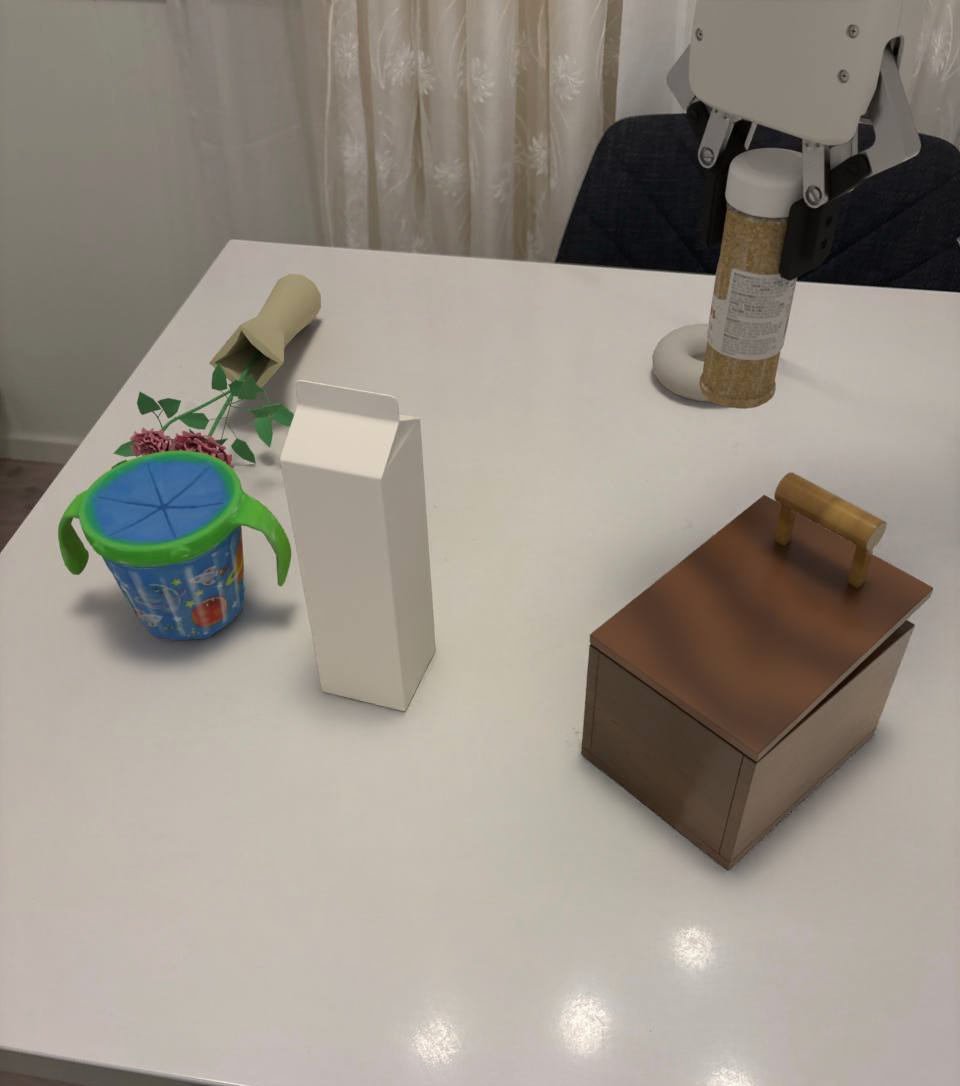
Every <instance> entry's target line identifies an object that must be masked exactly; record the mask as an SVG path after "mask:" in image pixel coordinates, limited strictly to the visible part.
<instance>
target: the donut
mask: <svg viewBox="0 0 960 1086" xmlns="http://www.w3.org/2000/svg"><path fill="white" fill-rule="evenodd" d="M708 325H709V323H696V324H690V325H684V326H681V327H679V328H676V329H673V330H672V331H670V332H668V333H667V334H666V335H664V336H663V337H661V339H660V340H659V341H658V342H657V344H656V346H655V348H654V350H653V352H652V355H651V359H652V370H653V373H654V375H655V377H656V378H657V380H658V381H659V383H660V384H661V385H662V386H664V388H666V389H667V390H669V391H670V392H672V393H673V394H676V395H678V396H680V397H683V398H685V399H688V400H694V401H699V402H710V403H711V402H712V401H710V400H709V399H708V398H707V397H706V396H705V395H703V393H702V392H701V389H700V385H699V381H700V376H701V374H702V373H703V366H704V360H705V353H706V347H707V341H708V340H707V331H708ZM712 403H713V402H712Z"/></svg>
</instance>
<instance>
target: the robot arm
mask: <svg viewBox="0 0 960 1086" xmlns="http://www.w3.org/2000/svg"><path fill="white" fill-rule="evenodd" d="M926 2H927V0H696V2H695V6H694V14H693V21H692V27H691V28H692V29H691V34H690V35H691V36H690V43H689V44H688V45H687V47H686V48H685V50H684V51H683V52H682V53H681V55H680V56H679V57H678V59H677V60H676V61H675V63H674V64H673V65H672V66H671V68H670V70H669V71H668V72H667V74H666V84H667V86H668V88H669V90H670V91H671V94H672V95H673V96H674V98H675V99H676V101H677V102H678V104H679V106H680V107H681V108H682V110H683V111H686V112H685V113H686V114H685V116H686V120H687V123H688V125H689V127H690V129H691V131H692V133H693V135H694V137H695V139H696V141H697V143H698V145H699V147H698V151H697V159H698V162H699V163H700V164H699V165H701V166H702V167H703V168H705V169H706V174H705V180H704V190H703V197H702V204H701V224H700V230H699V231H700V232H699V243H700V244H702V245H704V246H707V247H711V246H715V245H717V244H719V243H722V239H723V232H724V224H725V218H726V212H727V200H726V197H725V192H726V185H727V178H728V172H729V167H730V164H731V162H732V160H733V159H734V158H735V157H736V156H738V155H739V154H741V153H743V152H746V151H749V147H750V146H751V145H750V144H751V142H752V139H753V137H754V134H755V131H756V128H757V126H758V125H761V126H763V127H766V128H769V129H772V130H776V131H778V132H781V133H784V134H787V135H791V136H793V137H796V138H799V139H801V141H802V142H801V143H802V145H801V146H802V152H801V153H803V198H802V199H800V200H798V201H796V202H794V203H793V204H792V206H791V208H790V212H789V217H788V222H787V228H786V233H785V239H784V244H783V249H782V255H781V260H780V265H779V274H780V276H781V277H782V278H784V279H786V280H789V281H791V280H793V279H795V278H797V279H798V278H799V277H801V276H803V275H805V274H807V273H808V272H810V271H812V270H814V269H815V268H818V267H820V266H821V265H822V264H823V263H824V261H825V260H827V258H828V256H829V255H830V253H831V250H832V247H833V243H834V238H835V233H836V229H837V223H838V220H839V215H840V210H841V206H842V201H843V197H844V195H846V194H848V193H850V192H851V191H854V189H855V188H857V187H858V186H860V185H862V183H864V182H866V181H868V180H869V179H870V178H872V177H873V176H875V175H878V174H880V173H882V172H885V171H886V170H888V169H890V168H893V167H895V166H898V165H900V164H903V163H904V162H906V161H908V160H910V159H913V158H914V157H916V156H918V155H919V153H920V151H921V149H922V143H921V138H920V135H919V132H918V129H917V126H916V123H915V119H914V116H913V112H912V110H911V106H910V104H909V100H908V95H909V91H910V87H911V84H912V78H913V73H914V69H915V64H916V59H917V55H918V49H919V43H920V37H921V32H922V26H923V20H924V14H925V7H926ZM859 123H865V124H868V125H872V129H873V131H874V137H875V139H874V142H873V144H872V145H871V146H870V147H868V148H866V149H864V150H862V151H860V152H859V147H858V146H859Z"/></svg>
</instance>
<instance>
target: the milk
mask: <svg viewBox="0 0 960 1086" xmlns="http://www.w3.org/2000/svg"><path fill="white" fill-rule="evenodd" d="M294 389H295V395H296V401H297V405H296V408H295V411H294V413H293V414H294V417H293V420H292V423H291V426H290V427H289V429H288V432H287V435H286V438H285V441H284V445H283V448H282V451H281V453H280V457H279V463H280V468H281V474H282V479H283V485H284V491H285V497H286V501H287V507H288V512H289V518H290V523H291V529H292V535H293V540H294V545H295V551H296V557H297V561H298V566H299V572H300V578H301V583H302V588H303V594H304V599H305V605H306V609H307V616H308V621H309V626H310V627H309V628H310V633H311V638H312V643H313V649H314V654H315V659H316V664H317V670H318V675H319V681H320V686H321V691H322V692H323V693H326V694H330V695H335V696H338V697H339V696H340V697H343V698H347V699H351V700H354V701H355V700H356V701H360V702H362V703H363V702H364V703H368V704H371V705H376V706H380V707H384V708H389V709H392V710H397V711H401V712H406V711H407V709H408V706H409V704H410V703H411V701H412V699H413V696H414V695H415V692H416V690H417V688H418V686H419V685H420V683H421V681H422V679H423V677H424V675H425V672H426V670H427V668H428V666H429V664H430V662H431V660H432V658H433V656H434V655H435V652H436V650H437V649H436V633H435V631H436V630H435V619H434V617H435V616H434V602H433V589H432V588H433V586H432V573H431V572H432V571H431V560H430V558H431V557H430V543H429V532H428V529H429V528H428V527H429V526H428V515H427V498H426V485H425V470H424V457H423V455H424V454H423V453H424V452H423V442H422V441H423V440H422V427H421V426H422V425H421V418H420V417H417V416H412V415H405V414H401V413H400V407H399V401H398V399H397V398H396V397H395V396H394V395H393V394H386V393H379V392H375V391H368V390H363V389H358V388H357V389H356V388H350V387H345V386H340V385H335V384H329V383H328V384H327V383H321V382H316V381H310V380H304V379H298V380H296V381H295V383H294Z"/></svg>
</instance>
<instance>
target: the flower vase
mask: <svg viewBox="0 0 960 1086" xmlns="http://www.w3.org/2000/svg"><path fill="white" fill-rule="evenodd" d="M321 309H322V296H321V293H320V291H319V289H318V287H317V286H316V283H315V282H314V281H312V280H310V279H309V278H308V277H306V276H305V275H303V274H298V273H297V274H296V273H288V274H286V275H284V276H282V277H280V278H278V279H277V280H276V283H275V285H274V286H273V288H272V290H271V291H270V293H269V295H268V297H267V298H266V300H265V302H264V304H263V305H262V307H261V309H260V311H259V312H258V314H257V315H256V316H254V317H252V318H250V319H249V320H247V321H245V322H243V323H241V324H240V325H239V326H238V327H237V328H236V330H234V332H233V333H232V334H231V336H230V337H229V338H228V339H227V340H226V341H225V343H224V344H223V346H222V347H220V349H219V350H218V351H217V352H216V354H215V355H214V357H212V359H210V361H209V362H208V364H210V365H211V366H212V367H213V368H214V370H213V372H212V375H211V389H212V390H215V391H217V392H221V394H219V395H217V396H216V397H213V398H211V399H210V400H208V401H206V402H204V403H202V404H200V405H198V406H196V407H194V408H192V409H190V410H188V411H185V412H183V413H181V414H178V415H177V416H175V415H176V414H177V413H178V410H179V409H180V405H181V403H182V399H176V398H172V397H171V398H170V397H166V398H163V399H159V400H158V401H156V400H155V399H154V398H153V397H151V396H149V395H147V394H146V393H144V392H142V391H139V392H138V396H137V401H136V405H137V408H138V411H139V413H140V414H141V415H142V416H143V415H146V414H149V413H153V415H154V416H155V417H156V419H157V420H158V422H159V426H160V429H159V430H155V428H153V427H152V428H151V429H150V430H147V429H146V428H145V427H142V428H141V429H140V432H137V431H136V430H134V432H133V435H132V436H131V437H130V438H129V441H127V442H124V443H122V444H121V445H119V447H118V448H117V449H116V450H115V451H114V452H113V453H112V454H114V455H117V456H121V457H125V458H128V457H135V458H137V457H141V456H144V455H148V454H153V453H158V452H166V451H193V452H199V453H204V454H208V455H210V456H213V457H216V458H218V459H220V460H222V461H223V462H225V463H226V464H228V465H229V466H230V467H231V468H232V469H234V468H235V466H234V464H232V461H233V454H232V453H229V454H227V452H226V450H227V446H225V445H224V444H225V443H226V442H227V441H228V439H229V438H223V437H224V434H225V433H224V432H225V429H226V425H227V427H228V428H229V430H230V431H231V432H232V434H233V435H234V437H235V440H234V441H233V443H231V445H230V447H231V449H232V450H233V452H234V453H235V454H236V455H238V456H239V457H240V458H241V459H242V460H244V461H247V462H250V463H252V464H255V465H256V464H257V462H256V456H255V453H254V452H253V451H252V450H251V448H250V447H249V445H248V443H247V442H246V441H245V440H242V439H240V438H238V437H237V435H236V434H235V432H234V430H232V429H231V427H230V425H229V423H228V422H227V420H228V418H229V413H230V410H231V408H235V409H241V410H246V411H249V412H250V413H251V414H252V415H254V416H255V417H257V418H255V419H254V420H253V424H254V429H255V431H256V434H257V436H258V437H259V439H260V440H261V441H262V442H263V443H264V444H265V445H266V446H267V447H268V448H269V449H271V447H272V446H271V445H272V441H273V436H274V433H273V424H272V421H274V422H275V423H276V424H279V425H282V426H284V427H287V428H288V427H289V428H290V426H291V423H292V420H293V417H294V414H295V413H293V412H292V411H290V410H289V409H288V408H287V407H286V406H284V405H283V404H284V403H283V402H278V403H273V404H271V403H272V402H270V399H269V397H268V394H267V393H266V391H265V389H263V387H264V386H265V385H266V384H267V383H268V381H269V380H270V379H271V378H272V377H273V376H274V375H275V373H276V372H277V371H278V370H279V369H280V368H281V367H282V365H283V364H284V363H285V348H286V347H287V345H288V344H289V343H290V342H291V340H293V338H294V337H295V336H297V334H298V333H299V332H301V331H302V330H303V329H304V328H305V327H307V326H308V325H310V324H311V323H312V322H313V321H314V320H316V318H317V316H318V314H319V312H320V310H321ZM227 380H228V381H229V382H230V383H228V381H227ZM228 388H229V389H228ZM224 391H225V392H224ZM263 393H264V394H263ZM258 394H261V398H262V406H261V407H258V408H246V407H240V406H234V404H236V403H239V402H241V401H256V400H257V395H258ZM228 395H229V396H228ZM263 395H265V397H266V399H267V401H268V403H269V404H267V405H265V402H264V400H265V399H264V396H263ZM224 397H226V400H225V402H224V403H223V405H222V407H221V409H220V410H219V413H218V415H217V417H216V418H211V419H209V418H208V417H207V416H206V414H205V413H204V412H198V411H200V410H201V409H204V408H205V407H207V406H209V405H211V404H213V403H214V402H217V401H219V400H220V399H222V398H224ZM234 397H237V398H238V400H236V401H234V402H233V400H234ZM227 409H228V410H227ZM160 410H161V411H160ZM226 410H227V414H226V416H224V415H225V412H226ZM157 411H160V412H159V414H158V415H157V413H156V412H157ZM163 412H164V414H165V416H166V418H167V419H168V420H169V419H170V420H169V421H167V422H166V423H165V424H164V425H163V424H162V421H161V420H160V418H159V417H160V416H161V414H162V413H163ZM270 415H271V416H270ZM223 416H224V417H223ZM171 418H172V419H171ZM222 419H224V421H225V422H224V425H223V429H222V433H221V438H220V439H215V437H213V435H214V433H215V430H216V429H217V427H218V425H219V423H220V421H221V420H222ZM213 420H214V422H213V424H212V426H211V428H210V430H209V432H208V434H207V435H205V434H202V433H201V432H200V431H197V432H196V433H195V431H193V430H192V429H191V428H193V429H196V430H206V428H207V426H208V425H209V422H210V421H213ZM177 421H180V422H182V423H183V424H184V425H185V426H187V427H188V431H187V430H182V431H181V433H182V434H179V432H176V433H175V437H174V438H172V437H171V435H165V432H166V430H167V429H168V428H169V427H170V425H172V424H173V423H175V422H177ZM127 461H128V460H127V459H124V460H121V461H119V462H118V463H116V464H115V465H113V466H111V469H112V468H114V467H116V466H118V465H120V464H122V463H124V462H127ZM111 469H110V470H111Z"/></svg>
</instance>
